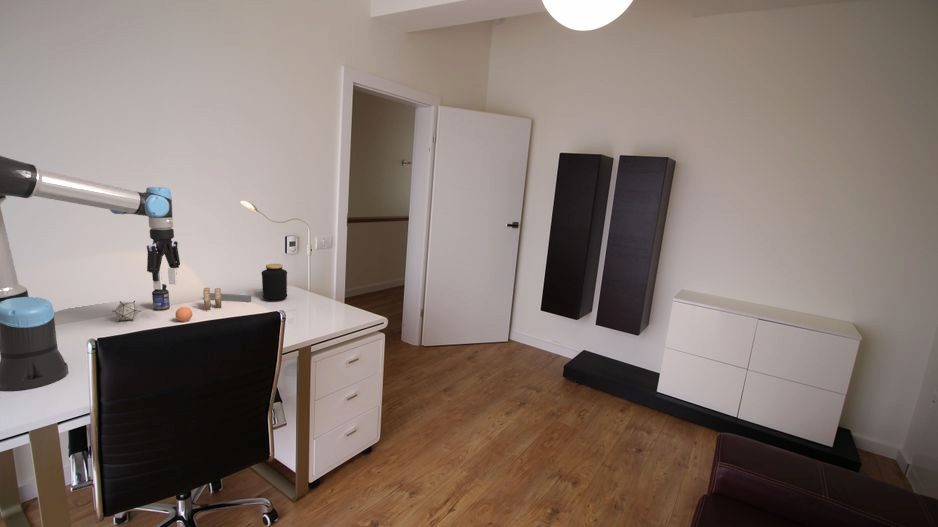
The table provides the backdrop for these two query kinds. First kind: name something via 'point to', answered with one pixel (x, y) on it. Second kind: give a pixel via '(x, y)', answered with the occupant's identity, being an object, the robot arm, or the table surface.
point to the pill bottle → (161, 299)
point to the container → (274, 282)
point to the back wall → (232, 297)
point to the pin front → (206, 300)
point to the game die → (126, 311)
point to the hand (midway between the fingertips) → (165, 286)
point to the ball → (183, 314)
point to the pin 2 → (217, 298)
